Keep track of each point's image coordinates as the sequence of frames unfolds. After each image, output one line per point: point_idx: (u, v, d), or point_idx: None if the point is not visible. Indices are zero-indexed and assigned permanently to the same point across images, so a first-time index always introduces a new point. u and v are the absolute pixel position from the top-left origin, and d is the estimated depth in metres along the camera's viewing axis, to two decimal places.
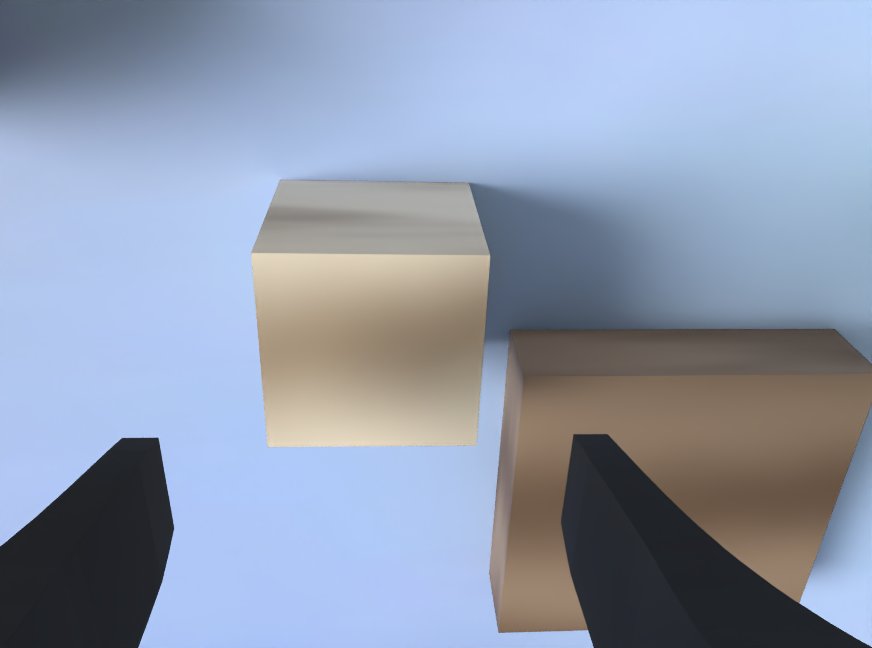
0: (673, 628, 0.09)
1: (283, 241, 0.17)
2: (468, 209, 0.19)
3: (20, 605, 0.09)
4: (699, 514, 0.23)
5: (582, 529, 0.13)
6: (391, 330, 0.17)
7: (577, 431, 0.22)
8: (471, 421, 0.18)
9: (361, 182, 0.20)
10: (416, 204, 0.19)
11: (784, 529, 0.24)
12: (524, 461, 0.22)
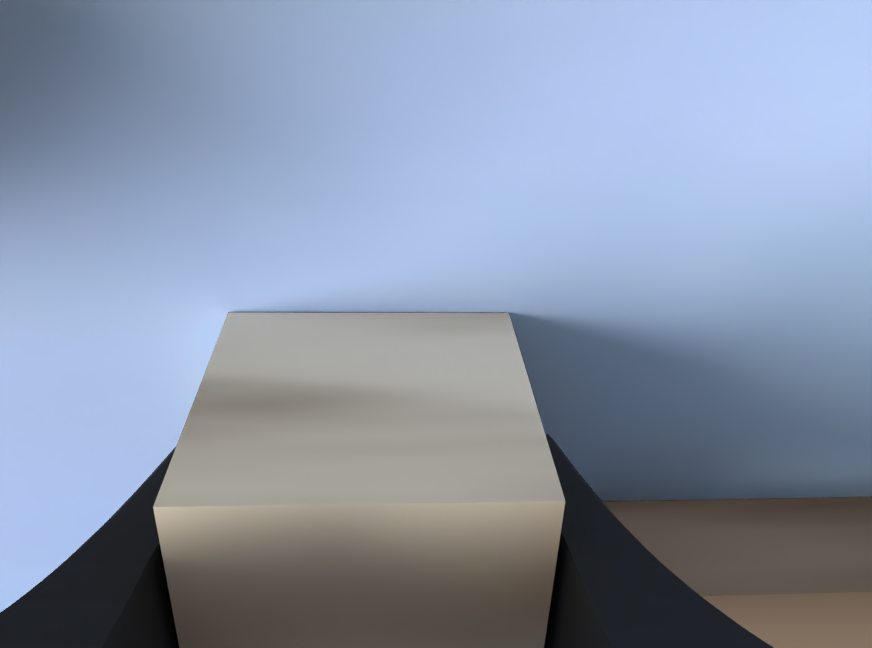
0: (588, 630, 0.09)
1: (213, 469, 0.10)
2: (515, 377, 0.12)
3: (111, 604, 0.09)
4: None
5: None
6: (396, 607, 0.10)
7: None
8: None
9: (349, 318, 0.14)
10: (434, 366, 0.12)
11: None
12: None
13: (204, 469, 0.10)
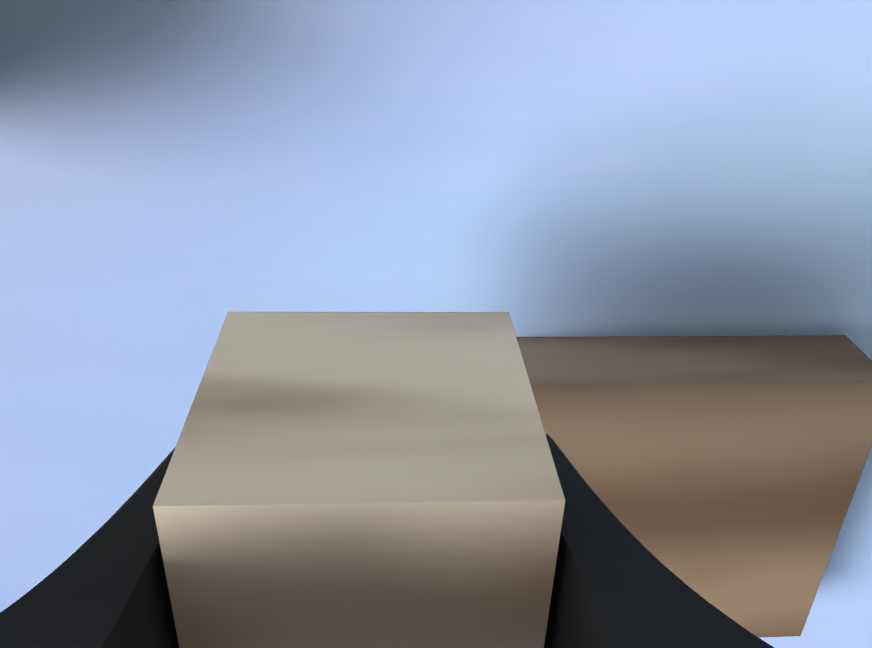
0: (588, 630, 0.09)
1: (213, 468, 0.10)
2: (515, 377, 0.12)
3: (111, 603, 0.09)
4: (706, 525, 0.23)
5: None
6: (397, 607, 0.10)
7: (582, 442, 0.21)
8: None
9: (349, 317, 0.14)
10: (434, 366, 0.12)
11: (793, 540, 0.23)
12: None
13: (204, 468, 0.10)
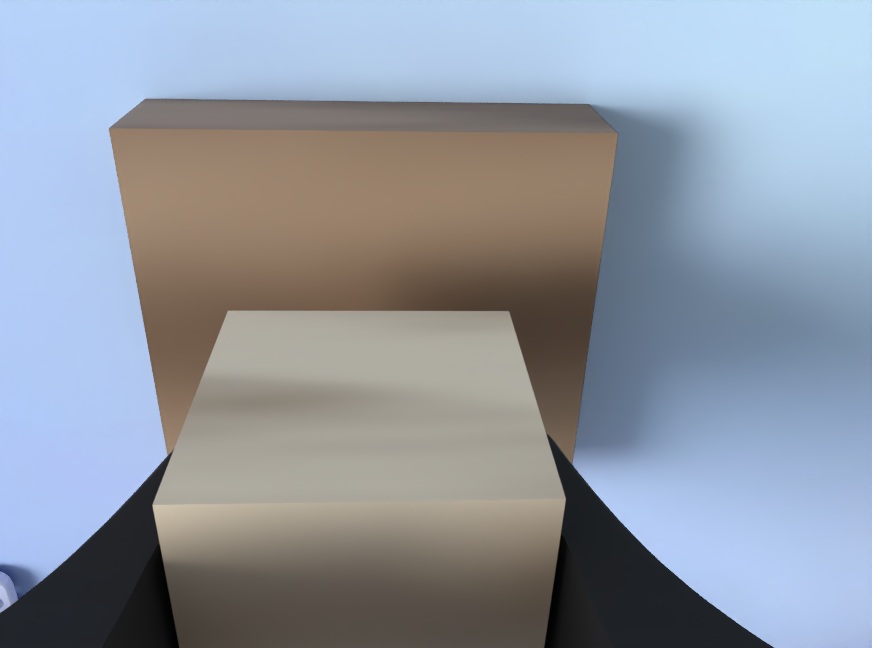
0: (588, 630, 0.09)
1: (212, 467, 0.10)
2: (515, 375, 0.12)
3: (111, 603, 0.09)
4: None
5: None
6: (396, 605, 0.10)
7: (207, 218, 0.16)
8: None
9: (349, 316, 0.13)
10: (434, 364, 0.12)
11: (528, 374, 0.18)
12: (144, 263, 0.16)
13: (204, 467, 0.10)
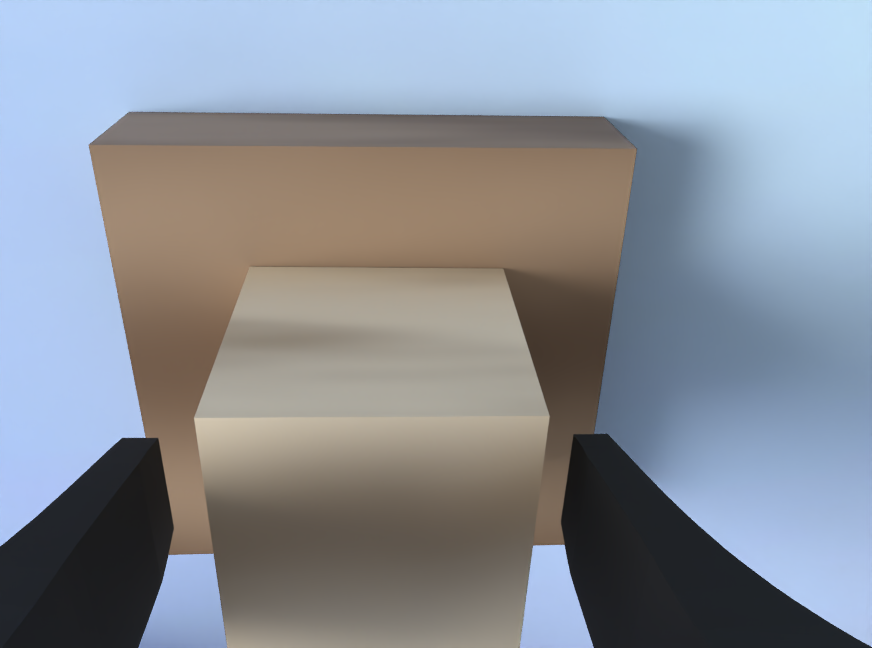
0: (673, 628, 0.09)
1: (244, 390, 0.11)
2: (508, 320, 0.13)
3: (20, 605, 0.09)
4: None
5: (582, 529, 0.13)
6: (403, 513, 0.12)
7: (196, 240, 0.15)
8: (513, 621, 0.13)
9: (359, 271, 0.15)
10: (436, 311, 0.14)
11: None
12: (128, 288, 0.15)
13: (236, 389, 0.11)
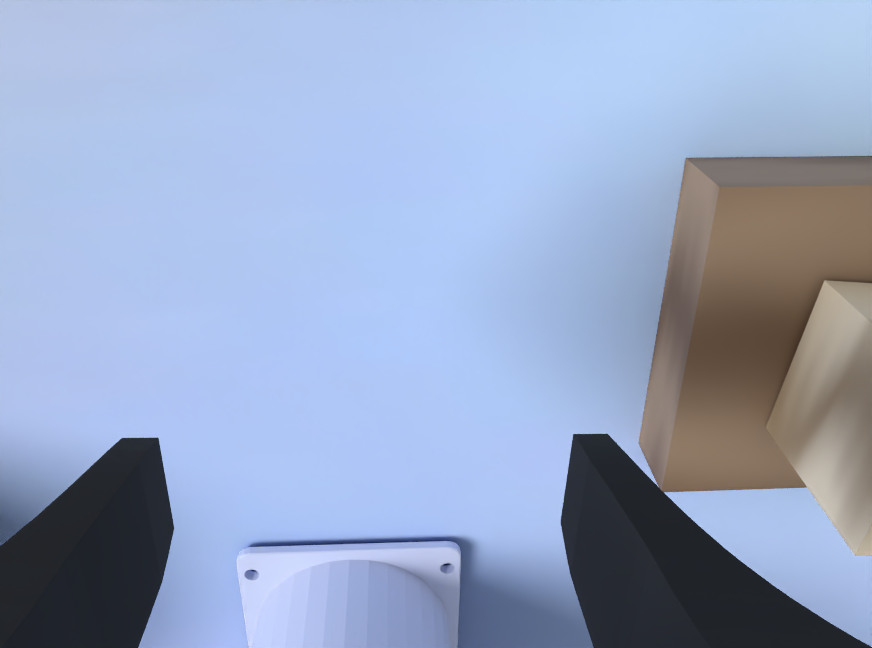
0: (673, 628, 0.09)
1: None
2: None
3: (20, 605, 0.09)
4: None
5: (582, 529, 0.13)
6: None
7: (768, 252, 0.20)
8: None
9: None
10: None
11: None
12: (708, 288, 0.21)
13: None
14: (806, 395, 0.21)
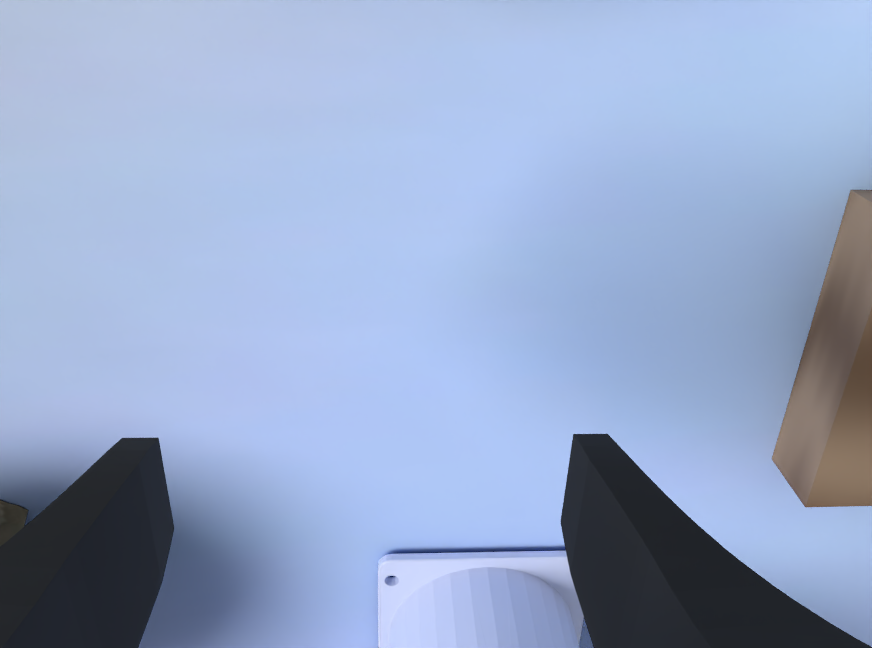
0: (673, 628, 0.09)
1: None
2: None
3: (20, 606, 0.09)
4: None
5: (582, 529, 0.13)
6: None
7: None
8: None
9: None
10: None
11: None
12: None
13: None
14: None
